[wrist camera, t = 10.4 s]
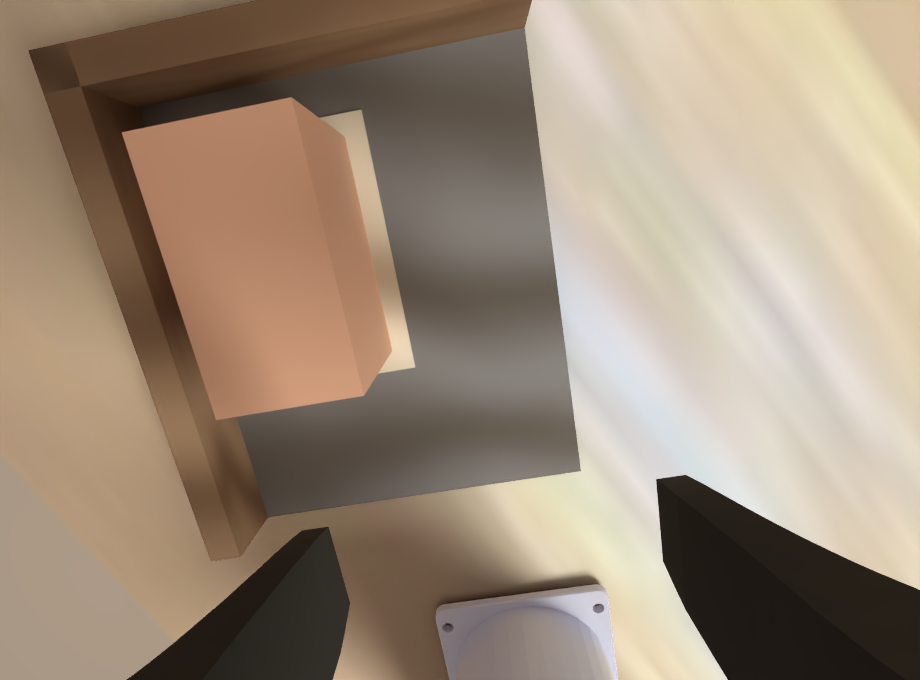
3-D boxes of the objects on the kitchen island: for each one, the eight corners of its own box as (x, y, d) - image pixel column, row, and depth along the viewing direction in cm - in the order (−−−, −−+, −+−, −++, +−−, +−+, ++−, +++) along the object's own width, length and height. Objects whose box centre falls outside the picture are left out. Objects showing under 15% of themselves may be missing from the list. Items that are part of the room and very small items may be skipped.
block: (345, 136, 16) (291, 97, 11) (392, 350, 18) (363, 395, 13) (224, 160, 16) (121, 132, 12) (283, 369, 18) (216, 419, 13)
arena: (578, 465, 20) (596, 505, 17) (247, 514, 21) (211, 561, 18) (517, -5, 15) (528, -60, 13) (106, 82, 16) (28, 50, 13)
